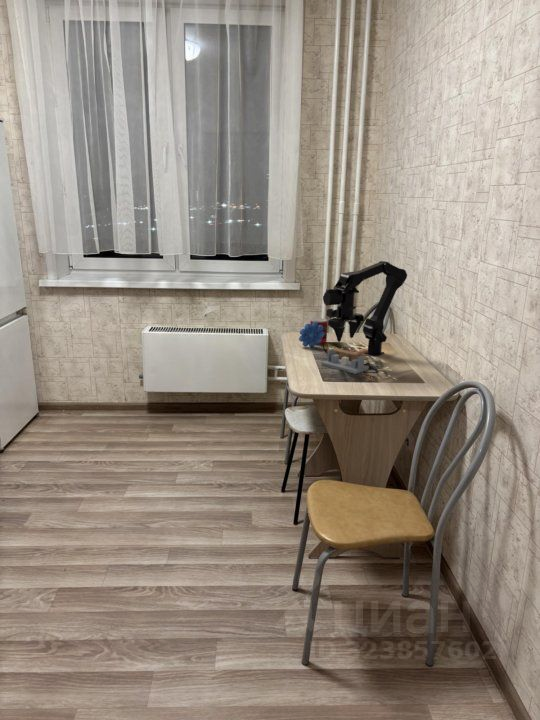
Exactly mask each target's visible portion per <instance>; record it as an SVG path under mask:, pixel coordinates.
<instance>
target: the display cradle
mask: <svg viewBox="0 0 540 720" xmlns="http://www.w3.org/2000/svg"><path fill="white" fill-rule="evenodd" d="M326 355H327V356H326V360H324V361H321V366H323V367H328V368H332V369H336V370H340V371H342V370H343V372H346V371H347V373H351V374H355V375H358V374H360V373H362V372H365V371H367V370H369V368H370V367H369V365H365V364H364V363H365V355H360V356H359V357H358V359H354V360H351V361H350V360H349V357H342V358H339V355H337V354H334V355H333V349H332V348H329V349H327V354H326ZM357 373H358V374H357Z"/></svg>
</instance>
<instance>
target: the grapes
mask: <svg viewBox="0 0 540 720" xmlns="http://www.w3.org/2000/svg"><path fill="white" fill-rule="evenodd" d="M322 330H323V326H322V325H319V326H318V324H317V322H313V323H312V324H311V325H310V323H306V324H305V325H304V328H302V329H300V331H299V335H300V336H299V337H298V340H299V342H302V346H303V347H310V348H313V347H315V346H316V345H320V344H319V343H321V338H322V337H324V335H325V333H324V332H323V331H322ZM315 343H316V344H315Z"/></svg>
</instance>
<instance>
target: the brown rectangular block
mask: <svg viewBox="0 0 540 720" xmlns="http://www.w3.org/2000/svg"><path fill="white" fill-rule="evenodd" d="M331 349H333V355H334V354H337V355H339V359H341V358H342V357H349V361H350V360H354V359H358V357H360V356H361V354H360V353H359V352H354V351H350V350H347V349H342V348H338V347H332V348H331Z"/></svg>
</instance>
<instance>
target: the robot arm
mask: <svg viewBox="0 0 540 720" xmlns="http://www.w3.org/2000/svg"><path fill="white" fill-rule="evenodd" d="M379 274H384V275H385V288H384V289H383V292H382V294H381V296H380V299H379V301H378V303H377V305H376V308H375V311H374V312H373V315H372V316H371V317H370V318H368V317H367V318H365V316H364V315H363V314H362V313H357V312H356V313H355V312H354V310H355V309H356V308H357V306H355V294H359V293H360V291H359V290H358V289H357V287H358V286H359V285H361V283H362V282H364V281H365V280H367V279H369V278H372V277H375V276H377V275H379ZM407 278H408V273H407V271H406V270H405V269H404V268H399V267H398V266H395V265H393V264H391V263H390V262H389V261H383V260H380V261H378V262H376V263H374V264H371V265H369V266H367V267H364V268H361V269H359V270H356V271H348V272H347V271H346V272H342V273H341V274H340V276H339V277H338V280H337V282H336V283H335V285H334V286H333V288H326V290H325V292H324V294H323V296H322V301H323V304H324V305H325V306H337V308H336V309H333V308H327V309H326V317H328V318H329V320H328V319H327V327H329V328H332V329H333V330H334V333H335V336H336V340H337V342H339V343H340V342H341V341H342V337H343V334H344V331H345V328H346V327H345V325H346V323H347V324H348V325H349V338H350V339H352V338H354V336H355V334H356V332H357V330H358V328H359V327H360V325H361V324H362V322H364V321H365V322H364V324H363V325H362V332H363V334H364V336H365V339H367V340H368V343H367V351H364V354H365V355H371V356H374V357H376V356H377V357H378V356H380V355H384V354H385V351H383V350H382V348H383V343H386V341H387V338H388V337H387V335H386V334H385V333H384V332H383V331H384V329H385V327H384V319H385V317H386V315H387V314H388V311H389V309H390V306H391V303H392V301H393V299H394V296H395V295H396V292H397V291H398V289H399V288H401V287H402V286H403V285H404V283H405V282H406V280H407ZM364 319H365V320H364Z"/></svg>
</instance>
